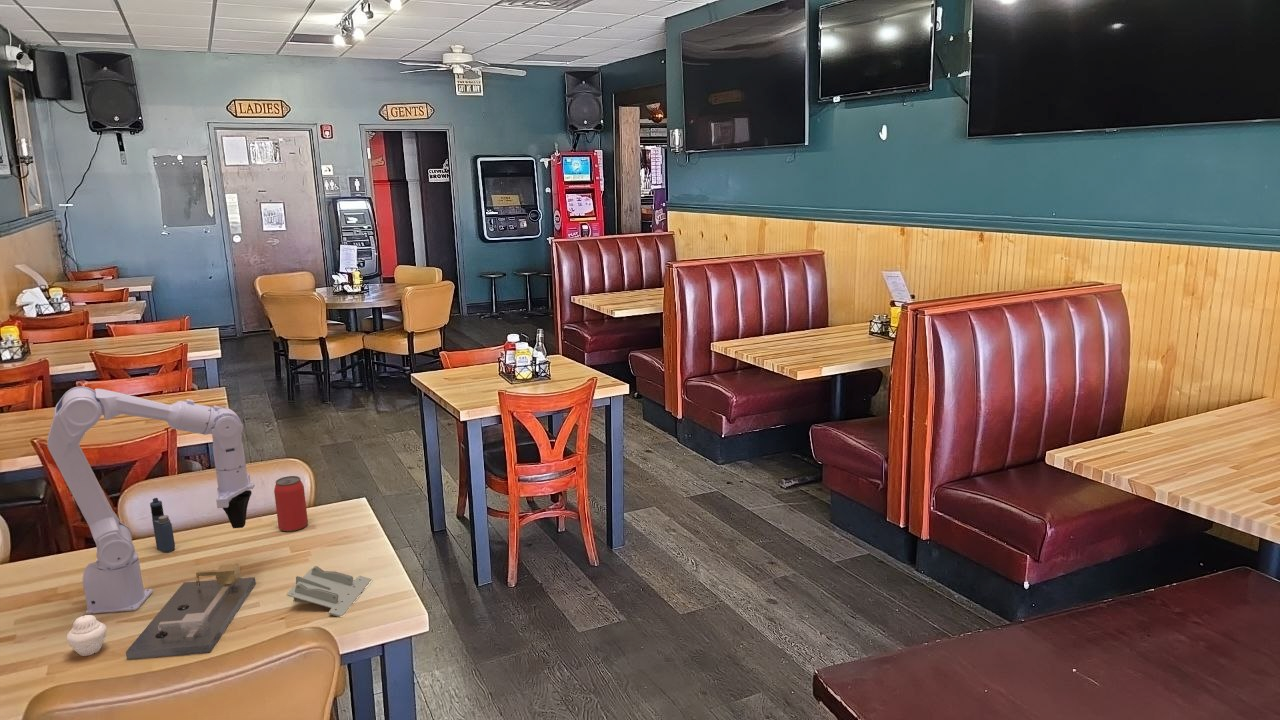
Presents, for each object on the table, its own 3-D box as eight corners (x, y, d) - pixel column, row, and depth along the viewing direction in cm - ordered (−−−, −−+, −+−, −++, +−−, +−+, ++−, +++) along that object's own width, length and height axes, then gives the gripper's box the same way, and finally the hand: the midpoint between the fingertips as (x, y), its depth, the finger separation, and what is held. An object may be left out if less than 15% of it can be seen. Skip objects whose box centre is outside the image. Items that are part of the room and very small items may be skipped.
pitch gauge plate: (126, 659, 151) (123, 636, 150) (185, 589, 176) (181, 569, 175) (210, 652, 152) (206, 629, 151) (255, 583, 177) (253, 563, 176)
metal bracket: (278, 590, 163) (313, 555, 178) (273, 616, 164) (308, 579, 179) (350, 610, 163) (379, 573, 178) (345, 636, 164) (374, 598, 179)
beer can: (273, 531, 203) (267, 484, 200) (288, 520, 209) (283, 474, 207) (298, 533, 202) (292, 485, 199) (313, 521, 208) (308, 475, 205)
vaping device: (166, 544, 197) (158, 495, 195) (177, 549, 194) (169, 500, 192) (154, 548, 195) (146, 499, 193) (165, 554, 192) (158, 504, 190)
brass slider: (194, 589, 171) (191, 573, 171) (199, 582, 174) (197, 566, 174) (236, 586, 172) (234, 570, 172) (241, 579, 175) (239, 563, 175)
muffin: (61, 657, 152) (54, 621, 150) (93, 639, 158) (87, 605, 156) (86, 663, 150) (79, 627, 148) (118, 645, 155) (111, 610, 154)
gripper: (239, 477, 171) (247, 539, 174) (261, 453, 185) (268, 512, 188) (202, 479, 170) (211, 542, 173) (227, 455, 184) (235, 514, 187)
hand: (239, 526), depth 180 cm, fingers closed
